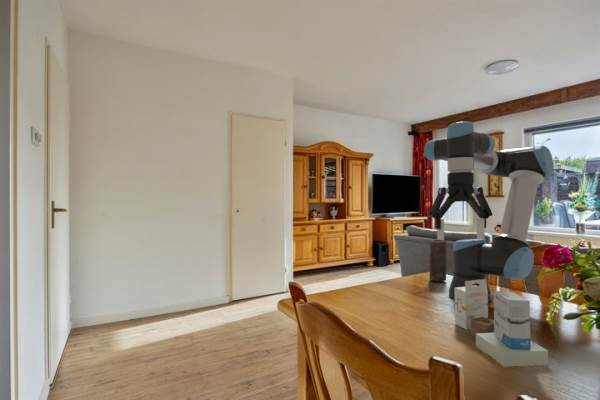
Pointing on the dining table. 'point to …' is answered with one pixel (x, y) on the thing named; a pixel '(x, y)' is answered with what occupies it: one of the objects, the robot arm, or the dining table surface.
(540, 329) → the dining table surface
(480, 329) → the walnut cube
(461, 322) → the ink cartridge box
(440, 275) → the dark brown tall block
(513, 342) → the ink box
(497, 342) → the pedestal block
